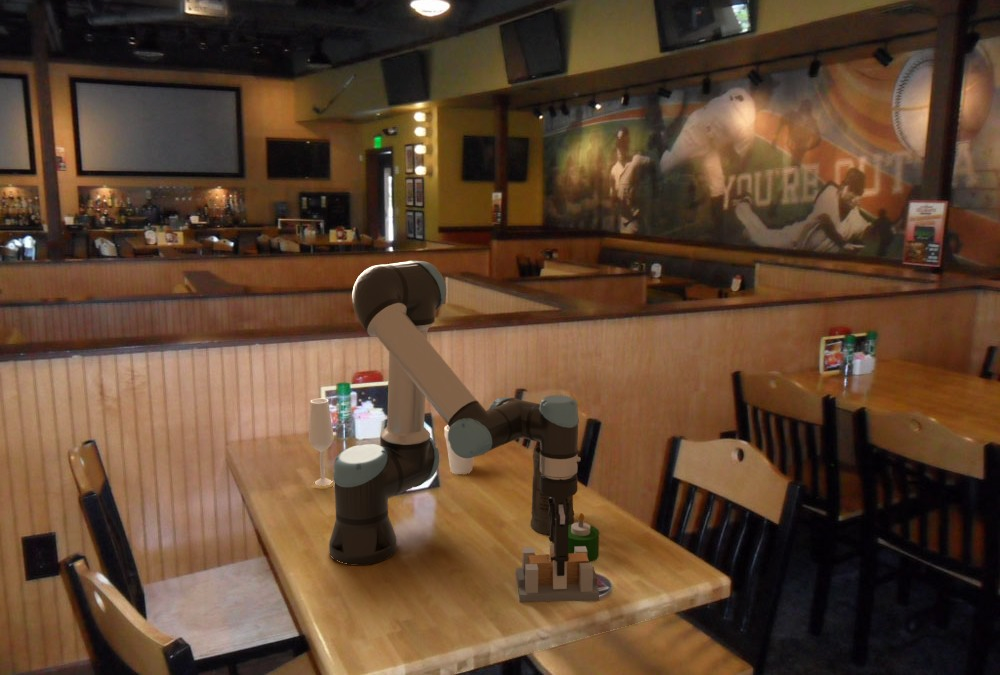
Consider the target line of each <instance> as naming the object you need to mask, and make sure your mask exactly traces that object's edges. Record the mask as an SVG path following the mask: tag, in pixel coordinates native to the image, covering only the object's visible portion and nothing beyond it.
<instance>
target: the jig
mask: <svg viewBox="0 0 1000 675" xmlns="http://www.w3.org/2000/svg"><path fill="white" fill-rule="evenodd" d="M574 553H586V555H587V549H586V546H577V547H574ZM528 555H536V550H535V547H533V546H532V547H528V546H527V547H524V546H523V547H522V566H521V567H516V568H515V576H516V585H517V592H518V599H519V602H520V603H524V602H526V603H527V602H528V603H529V602H530V603H531V602H572V601H574V600H575V601H576V600H578V601H579V600H581V601H600V591H599V587H598V575H597V574H596V570H595V568H594V566H593V564H592V562H589V563H579V584H567V589H553V585H545V586H538V566H537V564H528Z"/></svg>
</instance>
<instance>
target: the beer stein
mask: <svg viewBox="0 0 1000 675" xmlns="http://www.w3.org/2000/svg"><path fill="white" fill-rule="evenodd" d="M532 460H533V474H532V475H533V476H532V486H531V489H532V493H531V494H532V497H531V498H532V499H531V501H532V502H531V519H530V527H531V528H532V530H534V531H535V532H537V533H539V534H543V535H546V534H548V536H550V535H549V533H548V531H549V507H548V498H549V497H548V496H546V495H544V494H543V493H542V492H541V491H540V475H541V472H540V445H538V446H535V448H534V449H533V452H532ZM573 496H574V495H573ZM573 496H570V497H568V498H567V499H568V503H569V512H568V514H569V525H571V524H573V523H575V519H574V517H575V511H574V500H573V498H574V497H573Z"/></svg>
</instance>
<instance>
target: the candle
mask: <svg viewBox="0 0 1000 675" xmlns="http://www.w3.org/2000/svg"><path fill="white" fill-rule="evenodd" d="M584 521H585V515H584V514H583V513H582V512H579V514H578V516H577V522H574V523H573V524H571V525H568V553H574V547H577V546H586V549H587V557H588V560H589V563H592V562H595V561H596V560H597V559H599V554H600V553H599V551H600V547H599V546H600V531H599V529H598V528H597V527H595V526H593V525H590V524H589V523H586V522H584Z"/></svg>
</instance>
